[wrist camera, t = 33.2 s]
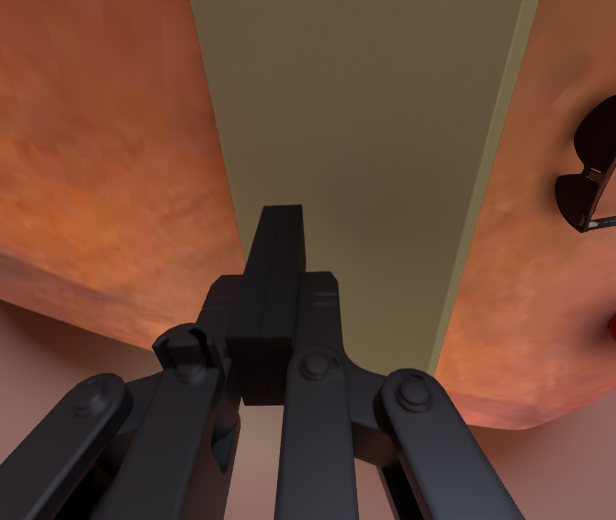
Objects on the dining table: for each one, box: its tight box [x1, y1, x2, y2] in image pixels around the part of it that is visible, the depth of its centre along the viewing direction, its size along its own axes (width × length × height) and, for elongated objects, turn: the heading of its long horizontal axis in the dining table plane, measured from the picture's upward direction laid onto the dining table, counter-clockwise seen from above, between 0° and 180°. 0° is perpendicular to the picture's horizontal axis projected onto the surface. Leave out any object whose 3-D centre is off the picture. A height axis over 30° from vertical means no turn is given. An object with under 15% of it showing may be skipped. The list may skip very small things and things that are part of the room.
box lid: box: [190, 0, 539, 377], centre depth 16 cm, size 16×20×1 cm
